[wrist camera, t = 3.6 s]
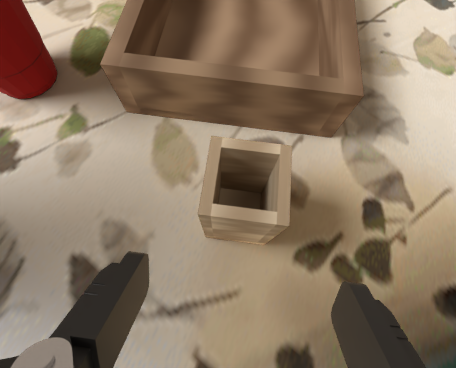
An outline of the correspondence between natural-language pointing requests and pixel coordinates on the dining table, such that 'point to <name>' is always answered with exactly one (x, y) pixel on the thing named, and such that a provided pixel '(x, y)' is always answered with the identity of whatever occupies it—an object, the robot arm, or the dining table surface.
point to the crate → (239, 62)
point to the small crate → (246, 190)
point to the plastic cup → (22, 54)
